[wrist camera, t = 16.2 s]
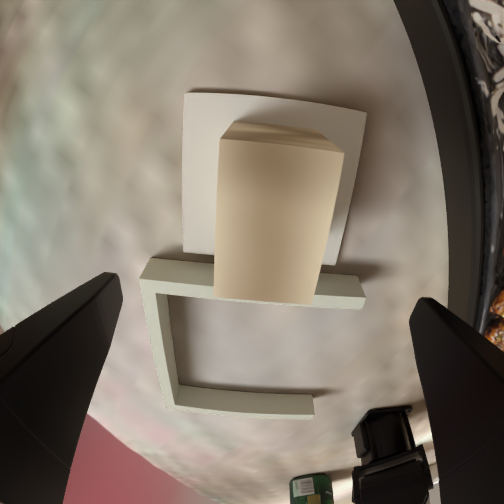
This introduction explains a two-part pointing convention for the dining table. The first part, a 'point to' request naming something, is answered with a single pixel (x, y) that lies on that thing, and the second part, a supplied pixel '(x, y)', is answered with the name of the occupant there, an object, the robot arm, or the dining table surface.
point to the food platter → (467, 144)
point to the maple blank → (273, 211)
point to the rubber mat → (258, 111)
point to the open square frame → (202, 286)
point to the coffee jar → (311, 490)
